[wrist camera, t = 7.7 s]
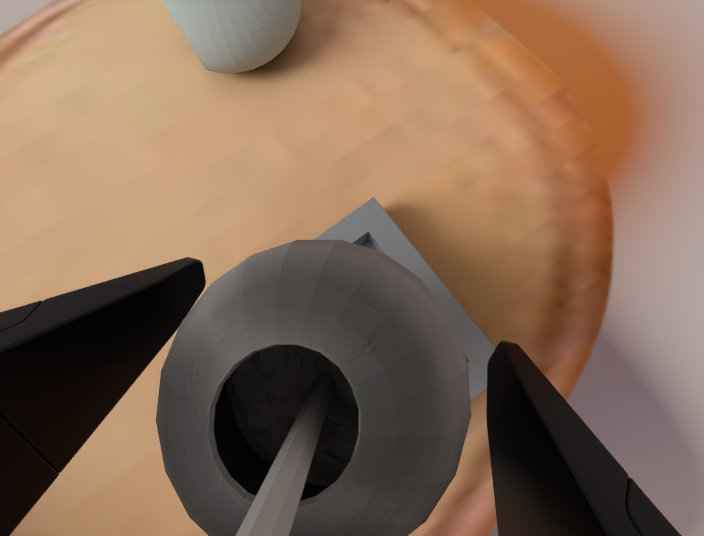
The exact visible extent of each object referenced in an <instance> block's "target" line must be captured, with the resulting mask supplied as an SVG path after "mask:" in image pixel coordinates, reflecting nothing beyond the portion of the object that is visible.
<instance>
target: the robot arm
mask: <svg viewBox="0 0 704 536" xmlns="http://www.w3.org/2000/svg"><path fill="white" fill-rule="evenodd" d="M205 284H206V280H205V274H204V268H203V264H202V262H201V261H200V260H197V259H194V258H189V257H186V258H183V259H179V260H176V261H173V262H169V263H166V264H163V265H159V266H156V267H153V268H149V269H146V270H142V271H139V272H136V273H132V274H129V275H126V276H122V277H119V278H115V279H112V280H109V281H105V282H102V283H99V284H95V285H92V286H89V287H85V288H82V289H78V290H75V291H72V292H68V293H65V294H62V295H58V296H55V297H52V298H48V299H45V300H44V301H38V302H34V303H31V304H28V305H24V306H21V307H18V308H14V309H10V310H7V311H3V312H0V536H10V534H11V533H12V532H13V531H14V529H15V528H16V527H17V526H18V525H19V523H20V522H21V521H22V520H23V518H24V517H25V516H26V515H27V514H28V512H29V511H30V510H31V509H32V507H33V506H34V505H35V504H36V502H37V501H38V500H39V499H40V498H41V496H42V495H43V494H44V493H45V491H46V490H47V489H48V488H49V487H50V485H51V484H52V483H53V482H54V480H55V479H56V478H57V477H58V475H59V473H60V472H61V471H62V470H63V469H64V468H65V467H66V465H67V464H68V463H69V462H70V460H71V459H72V458H73V457H74V455H75V454H76V453H77V452H78V451H79V449H80V448H81V447H82V446H83V444H84V443H85V442H86V441H87V440H88V438H89V437H90V436H91V435H92V433H93V432H94V431H95V430H96V428H97V427H98V426H99V425H100V424H101V422H102V421H103V420H104V419H105V417H106V416H107V415H108V414H109V413H110V411H111V410H112V409H113V408H114V406H115V405H116V404H117V403H118V401H119V400H120V399H121V398H122V397H123V395H124V394H125V393H126V392H127V390H128V389H129V388H130V387H131V385H132V384H133V383H134V382H135V381H136V379H137V378H138V377H139V376H140V374H141V373H142V372H143V371H144V370H145V368H146V367H147V366H148V365H149V363H150V362H151V361H152V360H153V358H154V357H155V356H156V355H157V354H158V352H159V351H160V350H161V349H162V347H163V346H164V345H165V344H166V343H167V341H168V340H169V339H170V338H171V336H172V335H173V334H174V333H175V331H176V330H177V329H178V327H179V326H180V324H181V323H182V321H183V319H184V318H185V317H186V316H187V314H188V312H189V311H190V309H191V308H192V306H193V305H194V303H195V302H196V300H197V299H198V297H199V296H200V294H201V293H202V291H203V289H204V287H205ZM487 429H488V439H489V449H490V459H491V468H492V478H493V488H494V497H495V507H496V517H497V527H498V536H681V535H680V534H679V533H678V531H677V530H676V529H675V528H674V527H673V526H672V525H671V524H670V522H669V521H668V520H667V519H666V518H665V517H664V516H663V514H662V513H661V512H660V511H659V510H658V509H657V507H656V506H655V505H654V504H653V503H652V502H651V501H650V499H649V498H648V497H647V496H646V495H645V494H644V493H643V491H642V490H641V489H640V488H639V487H638V485H637V484H636V483H635V482H634V481H633V479H631V478H628V474H627V473H626V471H625V470H624V469H623V468H622V467H621V465H620V464H619V463H618V462H617V461H616V459H615V458H614V457H613V456H612V455H611V454H610V452H609V451H608V450H607V449H606V448H605V447H604V445H603V444H602V443H601V442H600V441H599V439H598V438H597V437H596V436H595V435H594V434H593V432H592V431H591V430H590V429H589V428H588V427H587V425H586V424H585V423H584V422H583V421H582V420H581V418H580V417H579V416H578V415H577V413H576V412H575V411H574V410H573V409H572V408H571V406H570V405H569V404H568V403H567V402H566V400H565V399H564V398H563V397H562V396H561V395H560V393H559V392H558V391H557V390H556V389H555V387H554V386H553V385H552V384H551V383H550V382H549V380H548V379H547V378H546V377H545V376H544V374H543V373H542V372H541V371H540V370H539V369H538V367H537V366H536V365H535V364H534V363H533V361H532V360H531V359H530V358H529V357H528V356H527V354H526V353H525V352H524V351H523V350H522V348H521V347H520V346H519V345H517V344H515V343H511V342H508V341H501V342H500V343H499V344H498V345H497V347H496V349H495V350H494V352H493V354H492V355H491V357H490V359H489V361H488V365H487Z"/></svg>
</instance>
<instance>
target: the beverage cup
mask: <svg viewBox="0 0 704 536" xmlns="http://www.w3.org/2000/svg"><path fill="white" fill-rule="evenodd" d="M470 417H471V407H470V390H469V372H468V362H467V360H466V357H465V354H464V352H463V349H462V346H461V344H460V341H459V338H458V336H457V333H456V330H455V328H454V325H453V322H452V320H451V317H450V315H449V314H448V313H447V311H446V310H445V309H444V307H443V306H442V305H441V304H440V302H439V301H438V300H437V298H436V297H435V296H434V295H433V293H432V292H431V291H430V289H429V288H428V287H427V286H426V284H425V283H424V282H423V280H422V279H421V278H420V277H418V276H417V275H415V274H414V273H412V272H411V271H410V270H408V269H407V268H405V267H404V266H402V265H401V264H399V263H398V262H397V261H395V260H394V259H392V258H391V257H389V256H388V255H386V254H385V253H383V252H379V251H376V250H373V249H370V248H366V247H363V246H360V245H357V244H353V243H350V242H347V241H344V240H296V241H293V242H290V243H287V244H284V245H280V246H277V247H274V248H271V249H268V250H265V251H262V252H259V253H256V254H254V255H252V256H250V257H248V258H247V259H245V260H244V261H243V262H241V263H240V264H238V265H237V266H236V267H234V268H233V269H231V270H230V271H228V272H227V273H226V274H224V275H223V276H221V277H220V278H219V279H217V280H216V281H214V282H213V283H212V284H211V285H210V286H209V288H208V289H207V290H206V291H205V293H204V294H203V295H202V297H201V298H200V299H199V300H198V302H197V303H196V304H195V305H194V307H193V308H192V309H191V310H190V312H189V313H188V314H187V316H186V317H185V318H184V319H183V321H182V323H181V324H180V326H179V329H178V331H177V334H176V336H175V338H174V341H173V343H172V346H171V348H170V351H169V353H168V356H167V358H166V361H165V363H164V366H163V368H162V370H161V378H160V388H159V397H158V407H157V416H156V423H157V428H158V434H159V439H160V445H161V450H162V456H163V461H164V466H165V471H166V473H167V475H168V477H169V479H170V481H171V483H172V485H173V487H174V489H175V491H176V492H177V494H178V496H179V498H180V500H181V502H182V504H183V506H184V508H185V510H186V512H187V513H188V515H189V517H190V518H191V519H192V520H193V521H194V522H195V523H196V524H197V525H198V526H199V527H200V528H201V529H203V530H204V531H205V532H206V533H207V534H208V535H209V536H408V535H409V534H410V533H411V532H413V531H414V530H415V529H417V528H418V527H419V526H420V525H422V524H423V523H424V522H426V520H427V519H428V517H429V515H430V514H431V512H432V511H433V509H434V508H435V506H436V505H437V503H438V501H439V500H440V498H441V497H442V495H443V494H444V492H445V491H446V489H447V487H448V486H449V484H450V483H451V481H452V480H453V478H454V477H455V475H456V471H457V468H458V464H459V460H460V456H461V453H462V449H463V445H464V441H465V437H466V433H467V429H468V425H469V421H470Z"/></svg>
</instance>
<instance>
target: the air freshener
mask: <svg viewBox="0 0 704 536" xmlns="http://www.w3.org/2000/svg"><path fill="white" fill-rule="evenodd" d="M162 2H163V3H164V5H165V6H166V8H167V10H168V11H169V13H170V14H171V16H172V17H173V19H174V20H175V22H176V24H177V25H178V27H179V28H180V30H181V31H182V33H183V34H184V36H185V38H186V39H187V41H188V42H189V44H190V45H191V47H192V48H193V50H194V51H195V53H196V55H197V56H198V58H199V59H200V61H201V62H202V64H203V65H204V67H205V68H206V69H207V70H210V71H215V72H220V73H238V72H245V71H249V70H252V69H255V68H257V67H260V66H262V65H264V64H266V63H267V62H269V61H271V60H272V59H273V58H274V57H276V56H277V55H278V54H279V53H280V52H281V51H282V50H283V49H284V48H285V47H286V46H287V44H288V43H289V41H290V40H291V38H292V37H293V35H294V33H295V31H296V28H297V26H298V24H299V20H300V16H301V12H302V6H301V1H300V0H162Z"/></svg>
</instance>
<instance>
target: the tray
mask: <svg viewBox="0 0 704 536" xmlns="http://www.w3.org/2000/svg"><path fill="white" fill-rule="evenodd" d="M314 240H344V241H347V242H350V243H353V244H357V245H360V246H363V247H366V248H370V249H373V250H376V251H379V252H383V253H385V254H386V255H388V256H389V257H391V258H392V259H394V260H395V261H397V262H398V263H399V264H401V265H402V266H404V267H405V268H407V269H408V270H410V271H411V272H412V273H414V274H415V275H417V276H418V277H420V278H421V279H422V280H423V282H424V283H425V284H426V286H427V287H428V288H429V289H430V291H431V292H432V293H433V295H434V296H435V297H436V298H437V300H438V301H439V302H440V304H441V305H442V306H443V307H444V309H445V310H446V311H447V313H448V314H449V315H450V317H451V320H452V322H453V325H454V328H455V330H456V333H457V336H458V338H459V341H460V344H461V346H462V349H463V352H464V354H465V357H466V360H467V362H468V372H469V390H470V400H472V399H473V398H474V397H475V396H477V395H478V394H479V393H481V392H482V391H483V390H484V389H486V388H487V365H488V361H489V359H490V357H491V355H492V354H493V352H494V350H495V349H496V348H495V347H494V346H493V344H492V343H491V342H490V341H489V339H488V338H487V337H486V336H485V334H484V333H483V332H482V331H481V329H480V328H479V327H478V326H477V324H476V323H475V322H474V321H473V319H472V318H471V317H470V316H469V314H468V313H467V312H466V311H465V310H464V308H463V307H462V306H461V305H460V303H459V302H458V301H457V300H456V298H455V297H454V296H453V295H452V293H451V292H450V291H449V290H448V288H447V287H446V286H445V285H444V283H443V282H442V281H441V280H440V279H439V277H438V276H437V275H436V274H435V272H434V271H433V270H432V269H431V267H430V266H429V265H428V264H427V262H426V261H425V260H424V259H423V257H422V256H421V255H420V254H419V252H418V251H417V250H416V249H415V247H414V246H413V245H412V244H411V243H410V241H409V240H408V239H407V238H406V236H405V235H404V234H403V233H402V231H401V230H400V229H399V228H398V226H397V225H396V224H395V223H394V221H393V220H392V219H391V218H390V216H389V215H388V214H387V213H386V211H385V210H384V209H383V208H382V207H381V205H380V204H379V203H378V202H377V200H376V199H375V198H374V197H373V198H372V199H370V200H369V201H367V202H366V203H365V204H363V205H362V206H360V207H359V208H358V209H356V210H355V211H353V212H352V213H351V214H349V215H348V216H346V217H345V218H344V219H342V220H341V221H339V222H338V223H337V224H335V225H334V226H332V227H331V228H330V229H328V230H327V231H325V232H324V233H323V234H321V235H320V236H318V237H317V238H316V239H314Z"/></svg>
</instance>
